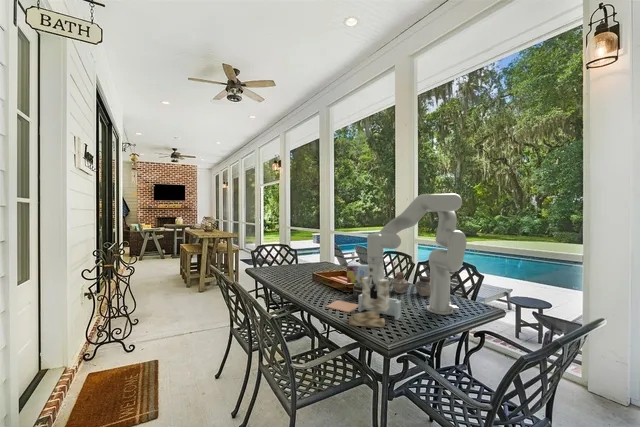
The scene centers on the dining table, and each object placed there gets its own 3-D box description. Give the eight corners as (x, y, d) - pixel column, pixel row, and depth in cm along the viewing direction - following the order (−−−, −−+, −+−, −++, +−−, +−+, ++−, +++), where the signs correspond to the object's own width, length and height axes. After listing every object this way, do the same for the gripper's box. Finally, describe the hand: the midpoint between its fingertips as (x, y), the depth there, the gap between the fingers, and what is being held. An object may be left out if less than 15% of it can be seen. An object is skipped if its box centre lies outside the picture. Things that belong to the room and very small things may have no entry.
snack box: (379, 287, 197) (379, 264, 197) (380, 290, 192) (380, 266, 191) (346, 286, 200) (347, 263, 199) (346, 288, 194) (347, 265, 193)
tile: (359, 306, 162) (359, 304, 162) (349, 312, 152) (349, 311, 152) (337, 301, 170) (337, 300, 169) (325, 307, 159) (325, 306, 159)
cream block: (389, 308, 144) (389, 279, 143) (386, 311, 141) (385, 281, 140) (365, 304, 150) (365, 276, 150) (362, 306, 147) (362, 278, 147)
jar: (349, 298, 176) (349, 285, 175) (360, 294, 183) (360, 281, 182) (363, 302, 168) (363, 288, 168) (374, 298, 175) (374, 285, 175)
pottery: (392, 288, 195) (393, 270, 194) (434, 293, 186) (434, 273, 186) (390, 293, 184) (390, 274, 184) (434, 298, 175) (434, 278, 175)
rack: (401, 316, 147) (401, 300, 147) (397, 320, 143) (397, 303, 143) (362, 308, 159) (363, 293, 158) (358, 311, 154) (358, 295, 154)
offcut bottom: (383, 324, 139) (384, 318, 139) (384, 328, 135) (384, 321, 135) (348, 322, 141) (349, 316, 141) (348, 326, 137) (348, 319, 137)
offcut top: (375, 315, 142) (375, 310, 142) (379, 318, 139) (379, 312, 139) (352, 319, 137) (353, 313, 137) (356, 322, 134) (356, 316, 134)
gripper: (375, 263, 135) (376, 303, 136) (389, 257, 149) (389, 293, 150) (360, 261, 140) (360, 300, 140) (374, 255, 154) (375, 291, 154)
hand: (375, 296), depth 145 cm, fingers closed on cream block, 4 cm apart
